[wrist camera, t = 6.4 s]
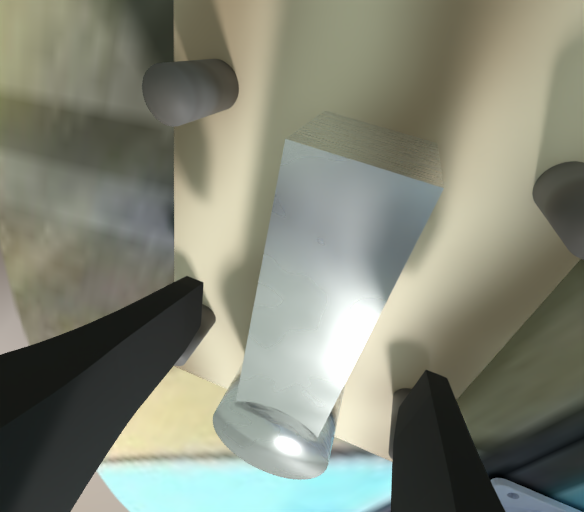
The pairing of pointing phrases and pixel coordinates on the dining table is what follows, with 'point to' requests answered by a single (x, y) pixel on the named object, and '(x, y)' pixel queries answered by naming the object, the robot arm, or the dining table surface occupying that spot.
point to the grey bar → (324, 284)
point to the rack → (395, 116)
